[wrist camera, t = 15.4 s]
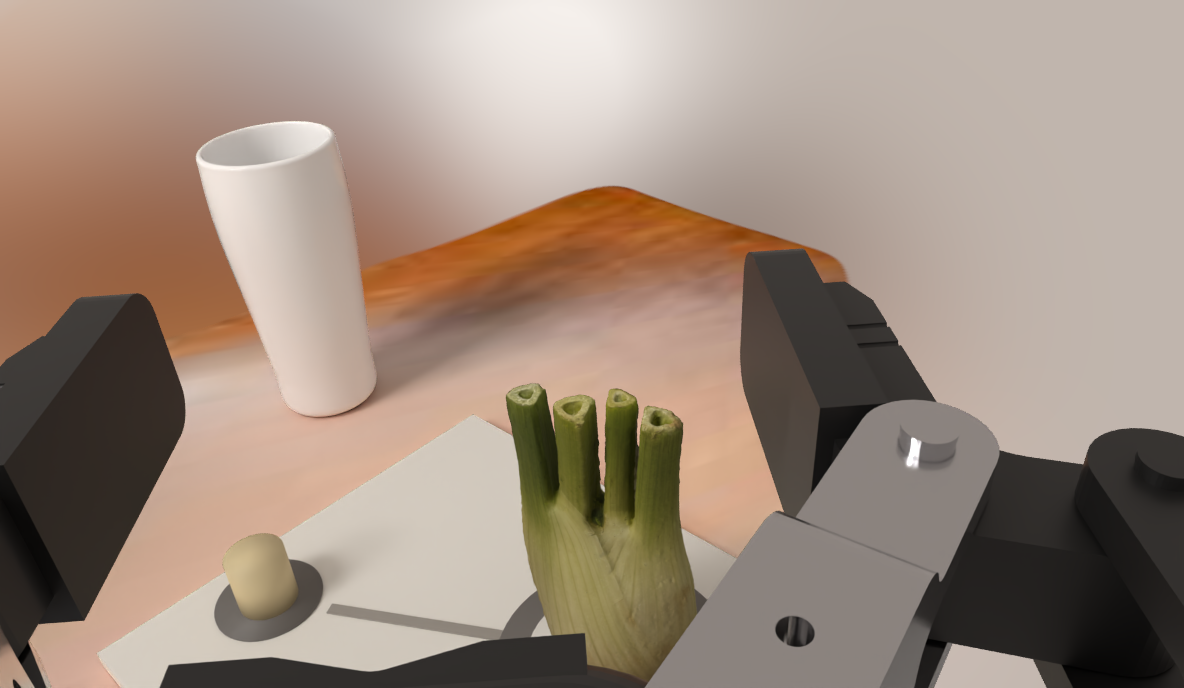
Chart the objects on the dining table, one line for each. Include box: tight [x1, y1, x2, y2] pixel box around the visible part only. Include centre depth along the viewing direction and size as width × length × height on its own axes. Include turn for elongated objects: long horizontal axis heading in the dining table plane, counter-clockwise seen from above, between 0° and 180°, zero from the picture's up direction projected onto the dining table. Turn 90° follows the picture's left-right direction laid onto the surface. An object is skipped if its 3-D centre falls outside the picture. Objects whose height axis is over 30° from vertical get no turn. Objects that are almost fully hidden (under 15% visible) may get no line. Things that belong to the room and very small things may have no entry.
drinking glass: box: [196, 121, 377, 417], centre depth 48 cm, size 7×7×15 cm
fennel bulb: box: [506, 384, 697, 682], centre depth 31 cm, size 6×5×12 cm
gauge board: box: [97, 415, 737, 688], centre depth 36 cm, size 20×20×3 cm
